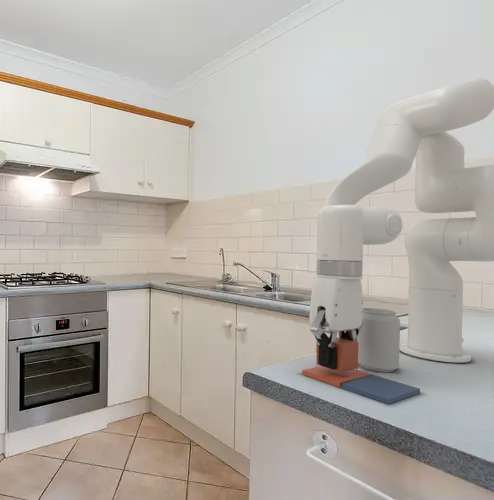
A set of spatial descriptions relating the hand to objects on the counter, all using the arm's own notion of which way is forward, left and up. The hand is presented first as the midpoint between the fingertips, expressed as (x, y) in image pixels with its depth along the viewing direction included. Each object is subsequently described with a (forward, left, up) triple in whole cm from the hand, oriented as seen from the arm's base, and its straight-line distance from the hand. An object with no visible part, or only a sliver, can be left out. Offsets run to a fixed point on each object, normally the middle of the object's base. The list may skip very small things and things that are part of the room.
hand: (336, 364), depth 70 cm
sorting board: (0, +4, -2) cm, 5 cm away
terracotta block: (0, 0, 0) cm, 0 cm away
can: (-13, 0, -3) cm, 13 cm away
